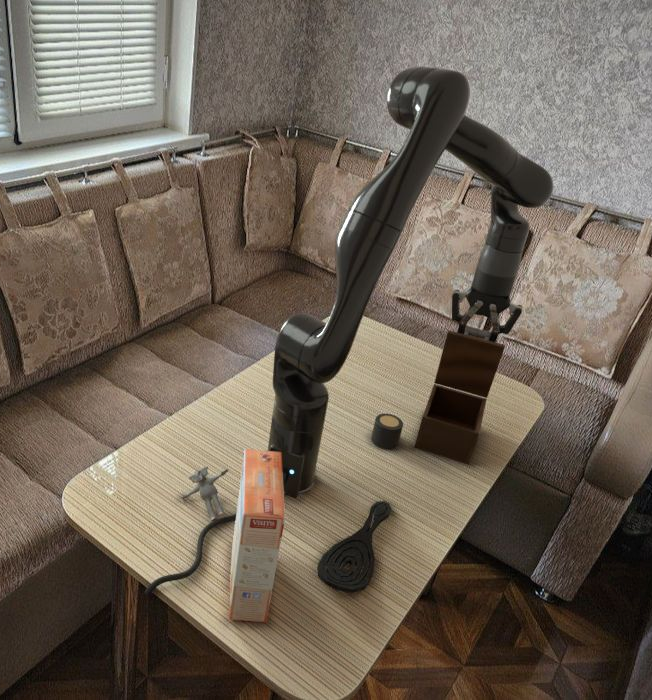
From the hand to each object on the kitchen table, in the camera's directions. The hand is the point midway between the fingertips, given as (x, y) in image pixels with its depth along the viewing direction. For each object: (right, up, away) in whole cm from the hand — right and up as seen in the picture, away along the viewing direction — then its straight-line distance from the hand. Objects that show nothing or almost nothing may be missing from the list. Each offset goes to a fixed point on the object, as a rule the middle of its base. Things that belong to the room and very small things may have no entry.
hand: (474, 343), depth 139 cm
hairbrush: (-28, -34, -27) cm, 52 cm away
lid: (-2, -5, -1) cm, 5 cm away
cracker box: (-47, -37, -36) cm, 70 cm away
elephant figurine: (-54, -28, -21) cm, 64 cm away
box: (-5, -20, +2) cm, 21 cm away
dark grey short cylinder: (-19, -20, -1) cm, 27 cm away
